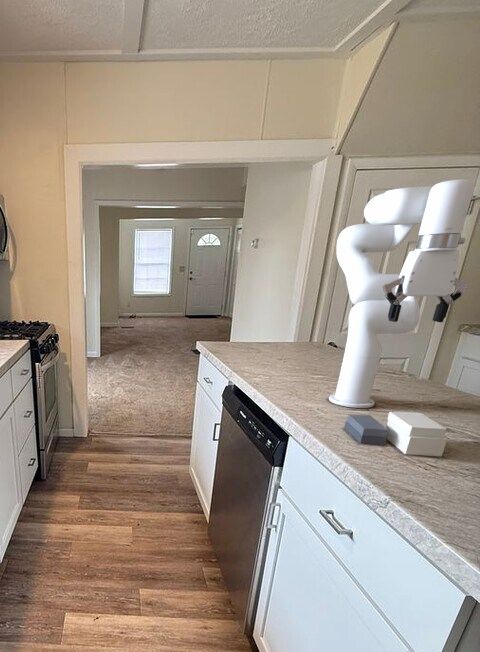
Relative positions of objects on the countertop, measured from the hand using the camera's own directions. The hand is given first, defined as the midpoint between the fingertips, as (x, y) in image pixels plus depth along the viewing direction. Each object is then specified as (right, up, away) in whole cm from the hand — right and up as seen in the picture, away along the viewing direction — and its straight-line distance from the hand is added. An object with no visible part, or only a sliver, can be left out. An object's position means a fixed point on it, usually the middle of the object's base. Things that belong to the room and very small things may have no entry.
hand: (414, 321), depth 97 cm
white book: (-1, -26, -1) cm, 26 cm away
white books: (-1, -30, 0) cm, 30 cm away
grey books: (-8, -28, +7) cm, 30 cm away
